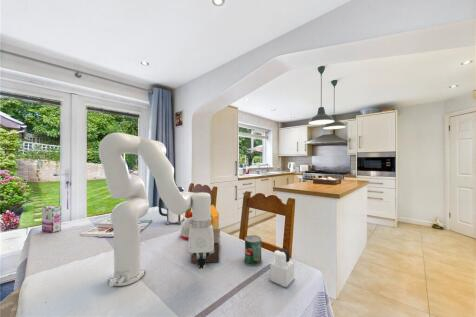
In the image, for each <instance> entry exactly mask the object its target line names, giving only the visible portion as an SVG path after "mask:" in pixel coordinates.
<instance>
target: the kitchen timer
mask: <svg viewBox="0 0 476 317" xmlns="http://www.w3.org/2000/svg"><path fill="white" fill-rule="evenodd" d="M186 216H187V219H186V220H184V223H183V226H182V227H181V231H180V238H181V239H182V240H185V241H189V232H190V227H191V226H192V224H189V220H192V211H191V212H189V213H188V214H187V215H186Z"/></svg>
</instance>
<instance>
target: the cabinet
mask: <svg viewBox="0 0 476 317" xmlns="http://www.w3.org/2000/svg"><path fill="white" fill-rule="evenodd" d="M213 234H214V245H216V244H217V261H210V262H209V263H219V260H220V250H221V229H220V228H219V229H213ZM190 256H191V257H190V258H191V264H192V263H196V262H192V254H190Z"/></svg>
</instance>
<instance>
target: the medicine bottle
mask: <svg viewBox="0 0 476 317" xmlns="http://www.w3.org/2000/svg"><path fill="white" fill-rule="evenodd" d="M290 255H291V253H290V252H289V250H287V249H285V248H277V249H275V250H274V256H273V257H274V258H273V259H274V260H273V261H271V262H270V263H269V281H270V282H273V283H275V284H277V285H279V286H281V287H283V288H287V287H288V286H289V285H290V284H291V283H292V282H293V281H294V278H295V277H294V276H295V275H294V274H295V273H294V271H295V268H294V267H295V266H294V265H295V264H294V261H292V260H291V258H290V257H291V256H290Z"/></svg>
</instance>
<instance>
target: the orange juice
mask: <svg viewBox="0 0 476 317" xmlns="http://www.w3.org/2000/svg"><path fill="white" fill-rule="evenodd" d="M219 215H220V214H219V211H218V210H217V208H216V207H215V205H214V204H211V225H212V227H213V229H220V216H219Z"/></svg>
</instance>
